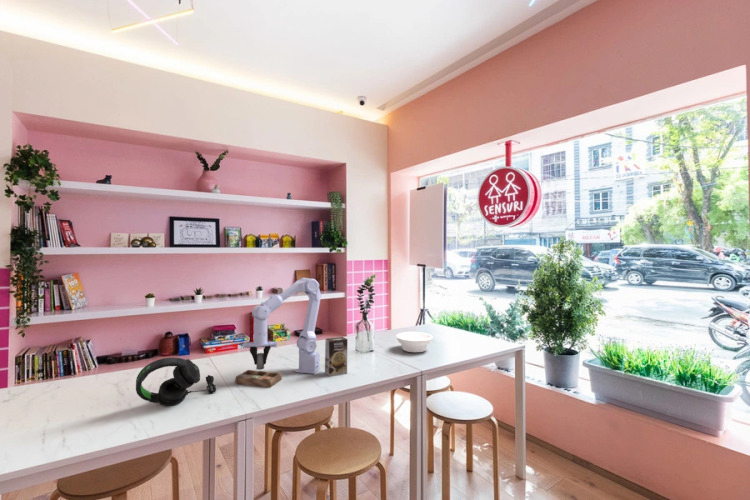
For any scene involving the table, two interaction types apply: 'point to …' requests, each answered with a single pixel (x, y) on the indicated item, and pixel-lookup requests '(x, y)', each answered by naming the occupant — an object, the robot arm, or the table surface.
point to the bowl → (414, 341)
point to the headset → (172, 381)
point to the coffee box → (335, 356)
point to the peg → (260, 361)
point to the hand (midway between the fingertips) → (260, 363)
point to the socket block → (258, 378)
